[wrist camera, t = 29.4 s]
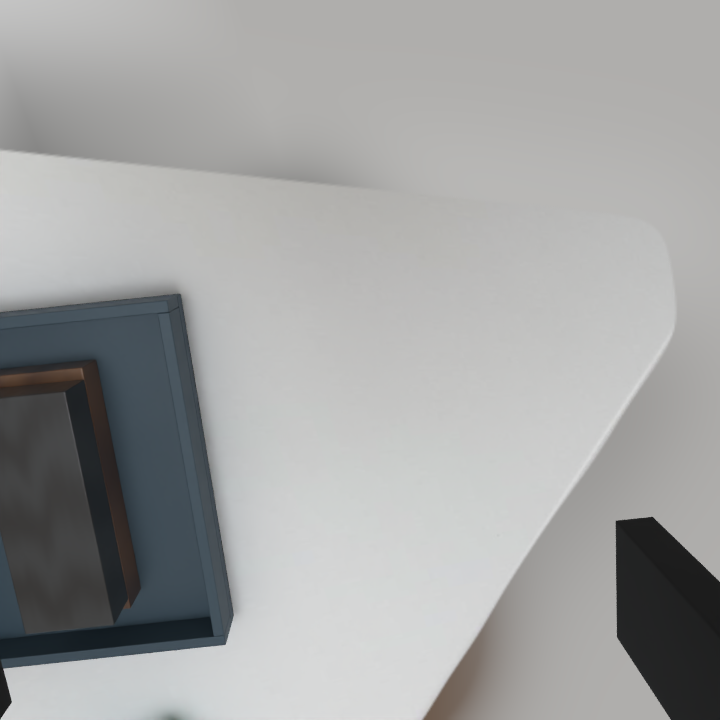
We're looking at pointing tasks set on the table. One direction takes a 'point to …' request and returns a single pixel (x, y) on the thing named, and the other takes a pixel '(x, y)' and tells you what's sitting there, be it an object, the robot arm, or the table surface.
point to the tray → (134, 478)
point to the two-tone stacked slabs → (62, 500)
